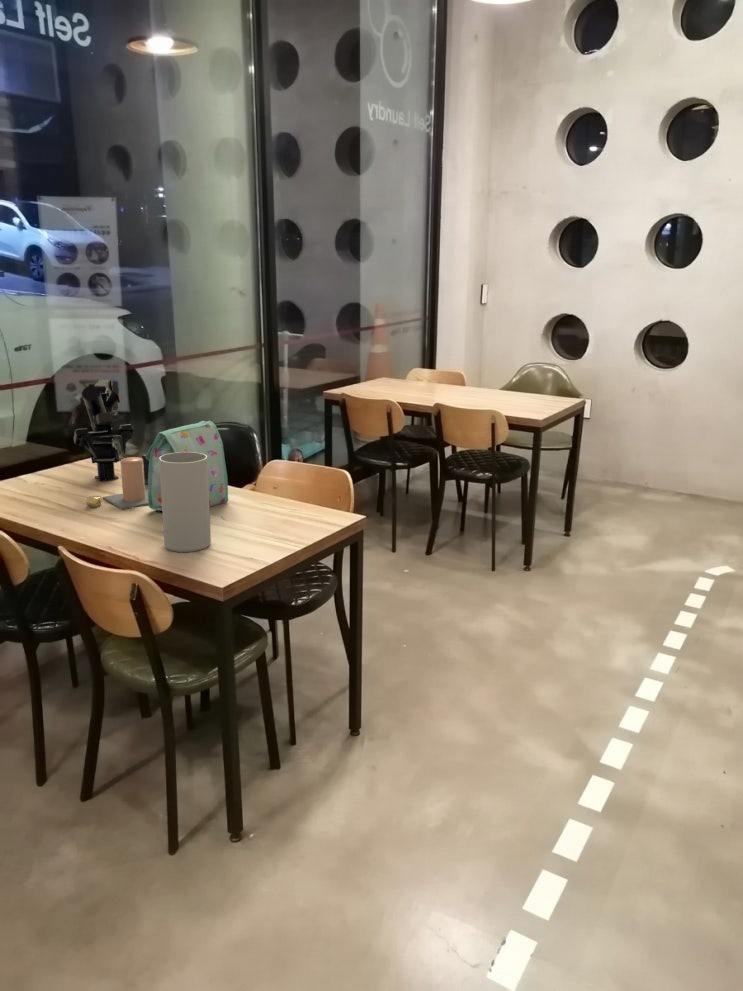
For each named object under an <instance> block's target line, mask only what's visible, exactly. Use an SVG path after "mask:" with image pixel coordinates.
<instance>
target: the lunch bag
mask: <svg viewBox="0 0 743 991" xmlns="http://www.w3.org/2000/svg"><path fill="white" fill-rule="evenodd" d="M176 452H197V453H202V454H205V455H207V464H208V488H209V508H210V507H214V506H217V505H220V504H225V503H228V501H229V482H228V481H229V480H228V473H227V472H228V471H227V466H226V460H225V450H224V444H223V439H222V438H221V434H220V432H219V430H218V427H217V425H216V424H215V423H214V422H213V421H211V420H208V421H205V420H201V421H199V422H197V423H191V424H187V425H183V426H178V427H174V428H169V429H167V430H164V431H163V430H162V431H159V432H158V433H157V435H156V437H155V439H154V441H153V443H152V444H151V445H150V447H149V449H148V451H147V452H146V453H147V455H146V460H148V461H149V472H148V484H147V490H148V504H149V505H148V507H149V509H151V510H153V511H162V497H161V481H160V465H159V457H160V456H162V455H165V454H169V453H176Z"/></svg>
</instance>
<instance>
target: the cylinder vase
mask: <svg viewBox="0 0 743 991" xmlns="http://www.w3.org/2000/svg"><path fill="white" fill-rule="evenodd" d="M159 465H160V481H161V497H162V526H163V542H164V543H163V544H164V547H165V548H166V549H167V550H168V551H171V552H172V551H173V552H178V553H190V552H191V553H192V552H198V551H201V550H204V549H206V548H208V547H209V545H210V544H211V542H212V538H211V515H210V507H209V488H208V464H207V455H205V454H202V453H197V452H176V453H169V454H165V455H162V456H160V457H159Z"/></svg>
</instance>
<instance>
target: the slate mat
mask: <svg viewBox="0 0 743 991" xmlns="http://www.w3.org/2000/svg"><path fill="white" fill-rule="evenodd" d="M145 495H146V498H145V499H143V500H140V501H126V500H124V499H123V493H117V494H112V495H107V496H102V497H103V498H104V499H103V500H105V499H106V500H105V501H106V502H108V501H109V503H110V502H111V503H110V504H111V505H113V504H114V505H113V506H115V507H117V508H118V507H119V508H118V509H120V510H121V511H122V510H123V511H124V510H126V509H127V508H128V509H132V507H133V508H138V506H139V507H143V505H144V506H149V505H148V488H147V489H146V488H145Z"/></svg>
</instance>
